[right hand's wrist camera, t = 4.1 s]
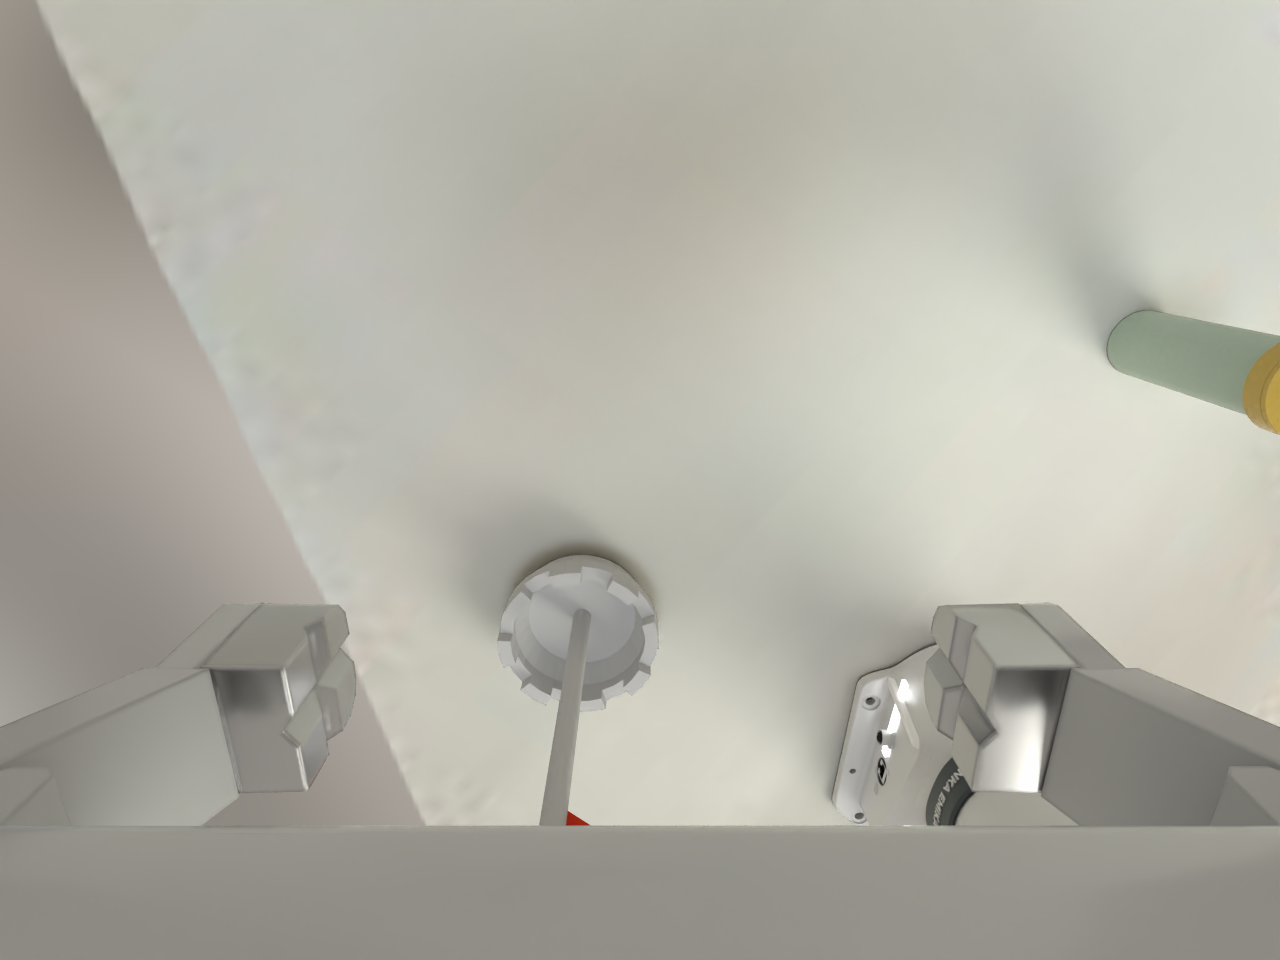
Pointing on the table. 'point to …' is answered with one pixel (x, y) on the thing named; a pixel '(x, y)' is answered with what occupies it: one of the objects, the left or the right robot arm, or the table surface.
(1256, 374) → the lid
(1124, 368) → the pale green cylinder
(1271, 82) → the table surface
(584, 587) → the flag stand
